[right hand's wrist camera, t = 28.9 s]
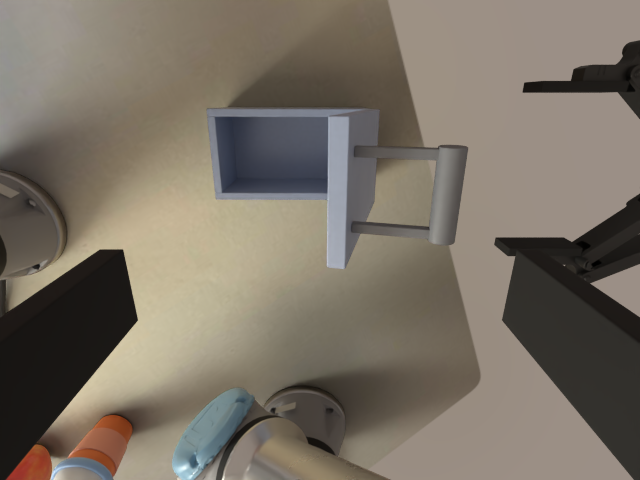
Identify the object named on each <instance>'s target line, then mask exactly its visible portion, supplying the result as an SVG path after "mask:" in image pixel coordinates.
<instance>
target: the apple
mask: <svg viewBox="0 0 640 480" xmlns="http://www.w3.org/2000/svg"><path fill="white" fill-rule="evenodd" d="M51 473H52V463H51V458H50V455H49V452H48V451H47V449H46V448H45V447H44V446H42V445H38V444H35V445H34V446H33V448H32V449H31V450H30V451H29V452H28V454H27V455H26V456H25V457H24V459H23V460H22V461H21V462H20V463H19V465H18V466H17V467H16V468H15V469H14V471H13V472H12V473H11V474H10V475H9V477H8V478H7V479H6V480H50V477H51Z"/></svg>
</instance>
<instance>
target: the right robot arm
mask: <svg viewBox="0 0 640 480" xmlns="http://www.w3.org/2000/svg"><path fill="white" fill-rule="evenodd" d="M65 244H66V226H65V222H64V219H63V216H62V214H61V212H60V210H59V208H58V206H57V205H56V203H55V202H54V201H53V199H52V198H51V197H50V196H49V195H48V194H47V193H46V192H45V191H44V190H43V189H42V188H41V187H40V186H38V185H37V184H36V183H34V182H32V181H31V180H29V179H27V178H25V177H23V176H21V175H19V174H16V173H13V172H9V171H3V170H0V480H6V479H7V478H8V477H9V475H10V474H11V473H12V472H13V471H14V469H15V468H16V467H17V466H18V465H19V463H20V462H21V461H22V460H23V459H24V457H25V456H26V455H27V454H28V452H29V451H30V450H31V449H32V448H33V446H34V445H35V444H36V443H37V442H38V440H39V439H40V438H41V437H42V436H43V434H44V433H45V432H46V431H47V430H48V428H49V427H50V426H51V425H52V423H53V422H54V421H55V420H56V419H57V417H58V416H59V415H60V414H61V413H62V411H63V410H64V409H65V408H66V407H67V405H68V404H69V403H70V402H71V401H72V399H73V398H74V397H75V396H76V394H77V393H78V392H79V391H80V390H81V388H82V387H83V386H84V385H85V384H86V382H87V381H88V380H89V379H90V378H91V376H92V375H93V374H94V373H95V372H96V370H97V369H98V368H99V367H100V365H101V364H102V363H103V362H104V361H105V359H106V358H107V357H108V356H109V355H110V353H111V352H112V351H113V350H114V349H115V347H116V346H117V345H118V344H119V343H120V341H121V340H122V339H123V338H124V336H125V335H126V334H127V333H128V332H129V330H130V329H131V328H132V327H133V326H134V324H135V323H136V322H137V321H138V318H137V314H136V309H135V304H134V299H133V295H132V290H131V285H130V280H129V276H128V271H127V266H126V261H125V257H124V252H123V250H99V251H97V252H96V253H94V254H93V255H91V256H90V257H88V258H87V259H85V260H84V261H83V262H81V263H80V264H78V265H77V266H75V267H74V268H72V269H71V270H69V271H68V272H66V273H65V274H63V275H62V276H60V277H59V278H57V279H56V280H55V281H53V282H52V283H50V284H49V285H47V286H46V287H44V288H43V289H41V290H40V291H38V292H37V293H35V294H34V295H32V296H31V297H30V298H28V299H27V300H25V301H24V302H22V303H21V304H19V305H18V306H16V307H15V308H13V309H12V310H10V311H9V312H7V313H6V312H5V298H6V279H9V278H15V277H20V276H25V275H31V274H34V273H37V272H39V271H41V270H43V269H44V268H46V267H47V266H49V265H51V264H52V263H54V262H55V261H56V260H57V259H58V258H59V257H60V255H61V254H62V252H63V250H64V247H65ZM502 321H503V322H504V323H505V324H506V326H507V327H508V328H509V329H510V330H511V332H512V333H513V334H514V335H515V336H516V338H517V339H518V340H519V341H520V343H521V344H522V345H523V346H524V347H525V349H526V350H527V351H528V352H529V353H530V355H531V356H532V357H533V358H534V359H535V361H536V362H537V363H538V364H539V365H540V367H541V368H542V369H543V370H544V372H545V373H546V374H547V375H548V376H549V377H550V379H551V380H552V381H553V382H554V384H555V385H556V386H557V387H558V388H559V390H560V391H561V392H562V393H563V394H564V396H565V397H566V398H567V399H568V401H569V402H570V403H571V404H572V405H573V407H574V408H575V409H576V410H577V411H578V413H579V414H580V415H581V416H582V417H583V419H584V420H585V421H586V422H587V423H588V425H589V426H590V427H591V428H592V430H593V431H594V432H595V433H596V434H597V436H598V437H599V438H600V439H601V440H602V442H603V443H604V444H605V445H606V446H607V448H608V449H609V450H610V451H611V452H612V454H613V455H614V456H615V457H616V458H617V460H618V461H619V462H620V463H621V465H622V466H623V467H624V468H625V469H626V471H627V472H628V473H629V474H630V475H631V477H632V478H633V479H634V480H640V317H638V316H637V315H636V314H634V313H633V312H631V311H630V310H628V309H627V308H625V307H624V306H622V305H621V304H619V303H618V302H616V301H615V300H613V299H612V298H610V297H609V296H608V295H606V294H605V293H603V292H602V291H600V290H599V289H597V288H596V287H594V286H593V285H591V284H590V283H588V282H587V281H585V280H584V279H583V278H581V277H580V276H578V275H577V274H575V273H574V272H572V271H571V270H569V269H568V268H566V267H565V266H563V265H562V264H560V263H559V262H557V261H556V260H555V259H553V258H552V257H550V256H549V255H547V254H546V253H544V252H543V251H541V250H517V252H516V257H515V261H514V266H513V271H512V276H511V280H510V285H509V290H508V295H507V299H506V304H505V309H504V314H503V319H502Z"/></svg>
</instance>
